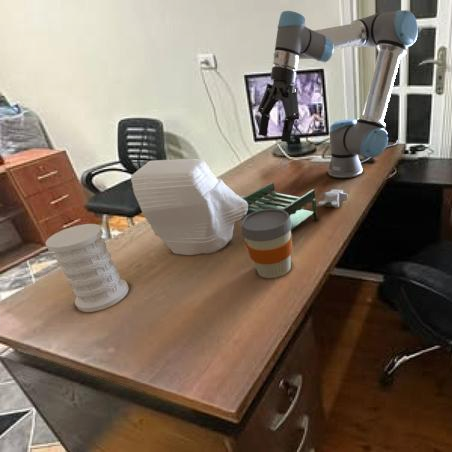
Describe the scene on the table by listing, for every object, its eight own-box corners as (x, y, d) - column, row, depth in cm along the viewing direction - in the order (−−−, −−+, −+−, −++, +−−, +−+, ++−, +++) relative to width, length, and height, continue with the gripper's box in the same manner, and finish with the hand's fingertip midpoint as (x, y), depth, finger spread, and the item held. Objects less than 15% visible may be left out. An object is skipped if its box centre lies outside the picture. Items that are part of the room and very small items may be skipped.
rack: (276, 210, 127) (271, 182, 122) (318, 219, 118) (314, 189, 113) (245, 230, 115) (239, 199, 110) (289, 241, 107) (284, 209, 101)
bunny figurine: (350, 187, 131) (340, 199, 118) (350, 200, 133) (340, 213, 120) (326, 186, 134) (313, 197, 120) (326, 199, 136) (314, 211, 122)
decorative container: (131, 299, 87) (103, 236, 78) (76, 319, 82) (41, 254, 73) (126, 277, 96) (101, 218, 87) (77, 293, 90) (45, 233, 82)
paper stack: (180, 229, 119) (157, 155, 107) (255, 231, 114) (240, 154, 102) (140, 265, 101) (107, 181, 88) (228, 268, 96) (205, 180, 84)
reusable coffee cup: (256, 256, 100) (247, 209, 93) (299, 254, 100) (293, 207, 93) (245, 283, 89) (233, 232, 82) (294, 281, 89) (286, 230, 82)
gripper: (253, 65, 113) (244, 131, 119) (298, 65, 96) (285, 142, 102) (273, 71, 119) (263, 134, 124) (319, 73, 102) (305, 146, 107)
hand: (273, 138), depth 113 cm, fingers open, 13 cm apart
